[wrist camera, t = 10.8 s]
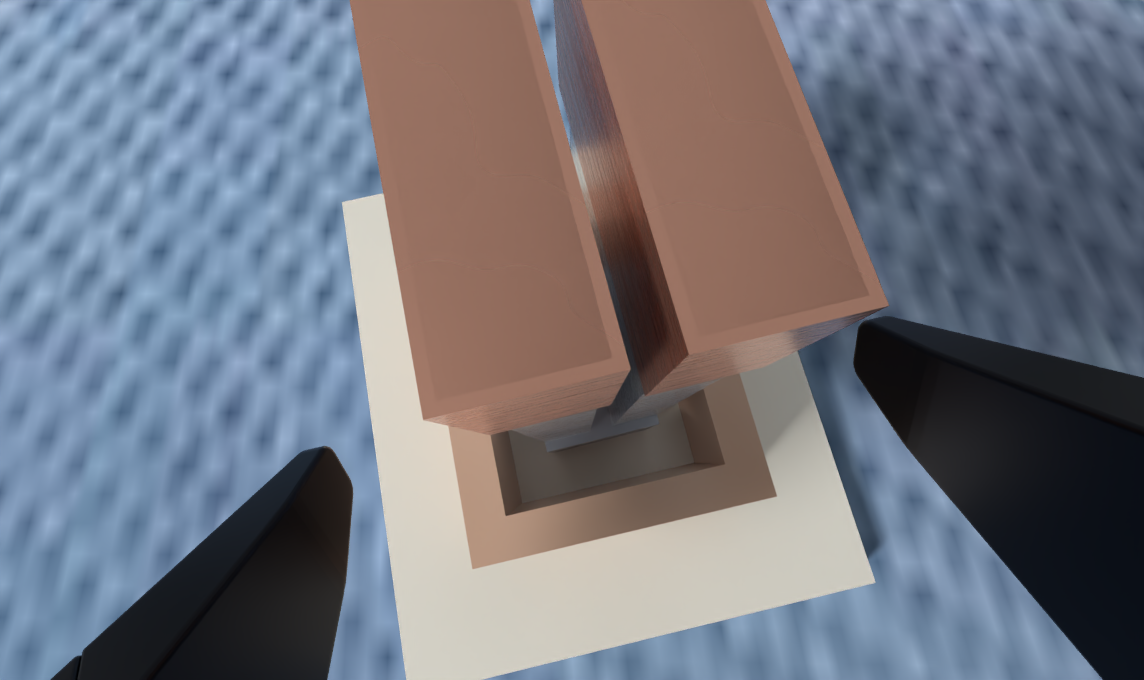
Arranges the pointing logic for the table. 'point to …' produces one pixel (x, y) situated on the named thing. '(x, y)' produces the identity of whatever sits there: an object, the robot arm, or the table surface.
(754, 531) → the holder
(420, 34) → the slotted copper-topped post
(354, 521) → the table surface
